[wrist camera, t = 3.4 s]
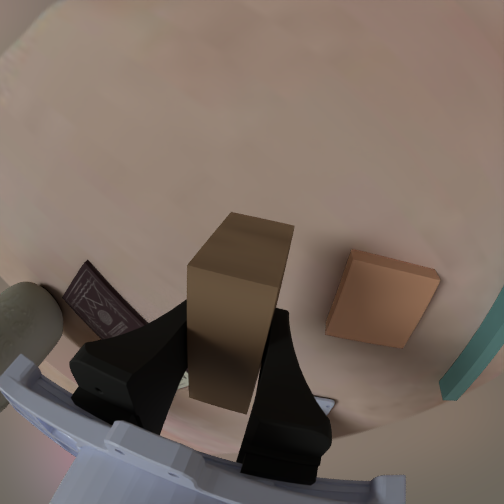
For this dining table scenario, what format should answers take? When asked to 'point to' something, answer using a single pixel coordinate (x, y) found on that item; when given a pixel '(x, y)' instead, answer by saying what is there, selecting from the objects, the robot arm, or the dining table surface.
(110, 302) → the chocolate bar
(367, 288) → the tile
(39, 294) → the olive grey vase
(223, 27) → the dining table surface
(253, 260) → the tall cardboard box
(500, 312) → the rail
